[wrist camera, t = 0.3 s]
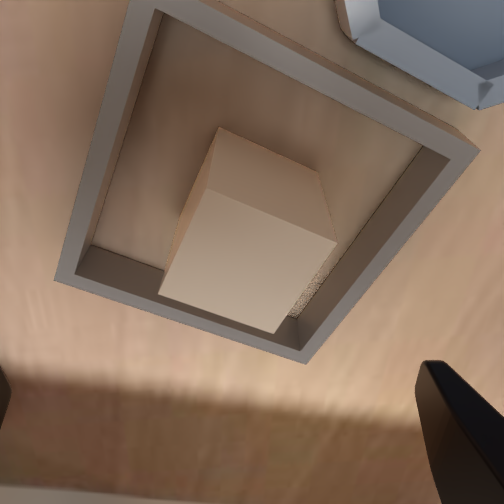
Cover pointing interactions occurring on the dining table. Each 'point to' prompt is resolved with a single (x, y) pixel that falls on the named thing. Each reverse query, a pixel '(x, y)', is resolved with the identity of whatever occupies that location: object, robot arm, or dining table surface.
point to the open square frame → (312, 75)
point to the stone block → (248, 234)
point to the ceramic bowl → (435, 42)
